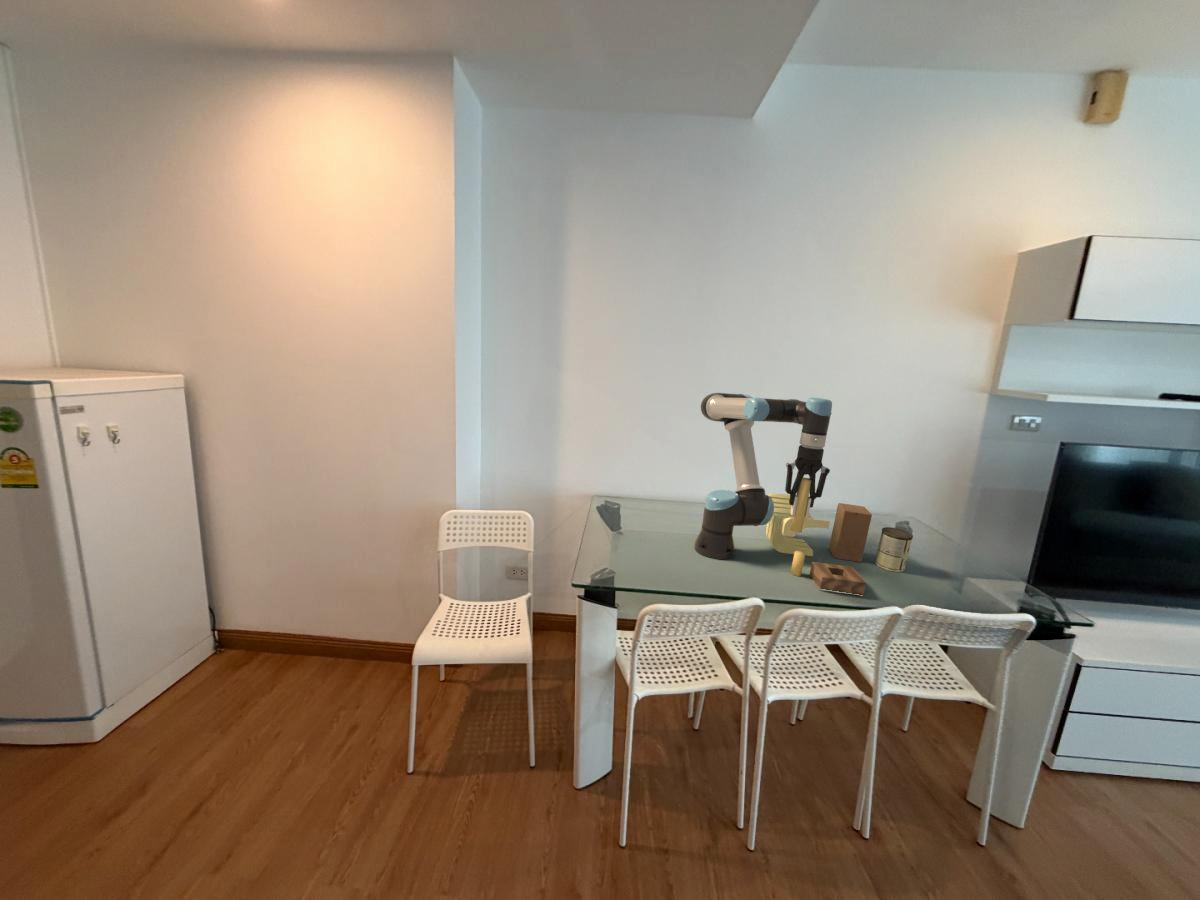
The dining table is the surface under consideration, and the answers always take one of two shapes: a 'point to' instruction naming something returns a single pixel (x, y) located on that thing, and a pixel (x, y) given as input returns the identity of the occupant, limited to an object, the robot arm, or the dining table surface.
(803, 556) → the short pin
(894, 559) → the coffee can
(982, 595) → the dining table surface
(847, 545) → the wooden block
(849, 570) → the hole block
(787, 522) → the slatted curved stool
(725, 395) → the robot arm
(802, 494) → the long pin
